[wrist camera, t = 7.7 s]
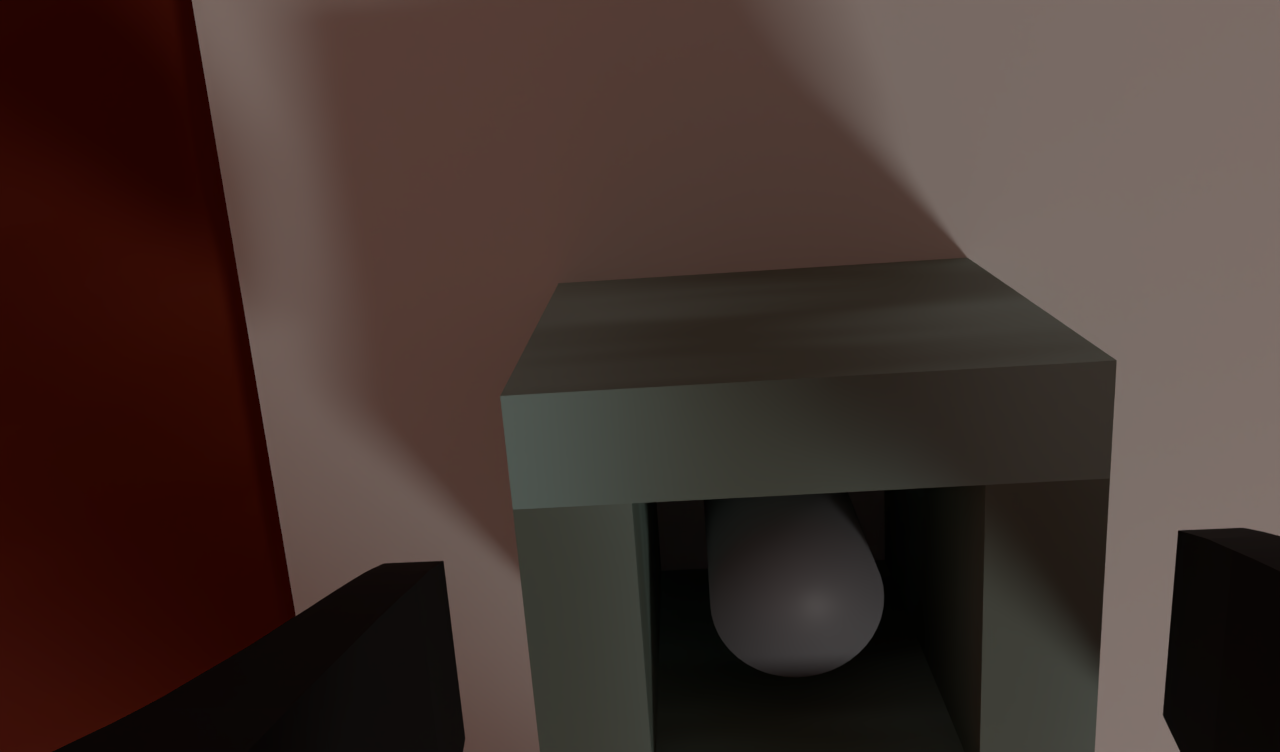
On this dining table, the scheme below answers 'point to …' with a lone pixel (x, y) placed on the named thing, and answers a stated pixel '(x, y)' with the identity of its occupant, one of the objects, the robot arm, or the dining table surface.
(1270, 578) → the robot arm
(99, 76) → the dining table surface
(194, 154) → the dining table surface
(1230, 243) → the pin plate
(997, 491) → the collar
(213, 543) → the dining table surface
